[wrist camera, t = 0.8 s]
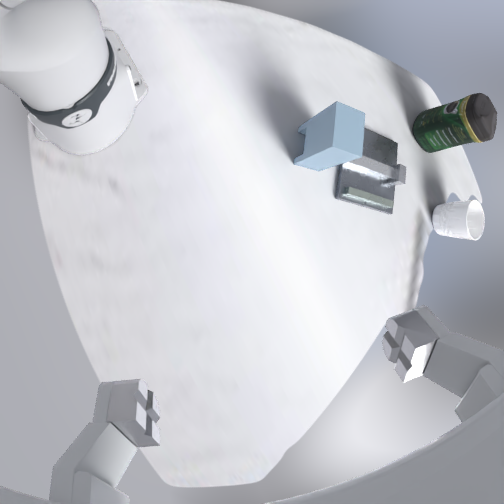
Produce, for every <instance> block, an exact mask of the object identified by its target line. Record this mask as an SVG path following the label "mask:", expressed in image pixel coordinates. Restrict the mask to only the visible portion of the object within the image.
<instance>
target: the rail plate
mask: <svg viewBox="0 0 504 504" xmlns="http://www.w3.org/2000/svg"><path fill="white" fill-rule="evenodd" d="M397 146H398V143H396V142H394V141H392V140H390V139H388V138H385V137H383V136H381V135H379V134H377V133H374V132H372V131H370V130H367V129H365V128H364V139H363V152H362V157H361V158H358V159H355V160H352V161H349V162H345V163H342V164H340V167H339V176H338V184H337V192H336V199H338V200H342V201H345V202H349V203H353V204H356V205H360V206H363V207H367V208H370V209H373V210H377V211H380V212H383V213H387V214H392V211H393V204H394V191H395V185H400V184H405V177H406V167H405V166H403V165H401V164H398V165H397Z"/></svg>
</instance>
